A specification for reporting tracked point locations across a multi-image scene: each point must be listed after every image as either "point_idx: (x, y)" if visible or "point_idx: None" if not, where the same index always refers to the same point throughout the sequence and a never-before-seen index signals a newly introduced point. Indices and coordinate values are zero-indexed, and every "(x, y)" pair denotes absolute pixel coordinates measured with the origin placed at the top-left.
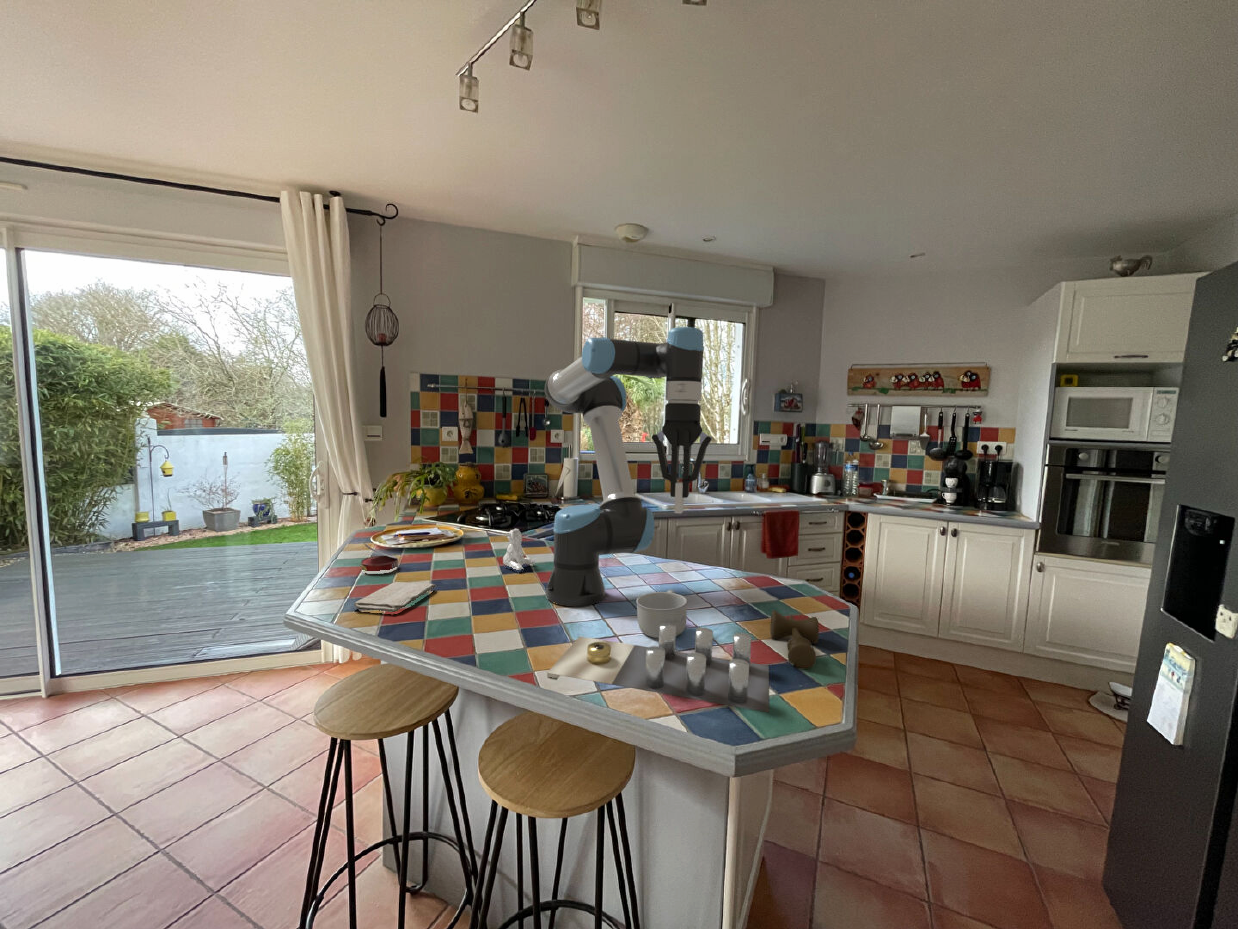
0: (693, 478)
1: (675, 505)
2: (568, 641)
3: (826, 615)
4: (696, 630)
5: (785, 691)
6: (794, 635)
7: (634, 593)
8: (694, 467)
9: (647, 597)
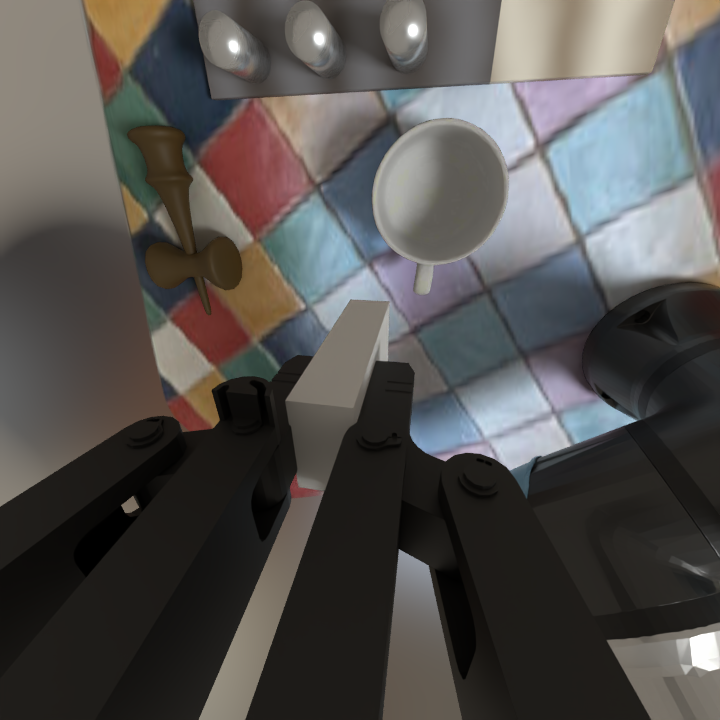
0: (150, 425)
1: (378, 317)
2: (679, 53)
3: (185, 371)
4: (324, 24)
5: (171, 6)
6: (178, 211)
7: (512, 394)
8: (25, 543)
9: (479, 239)
